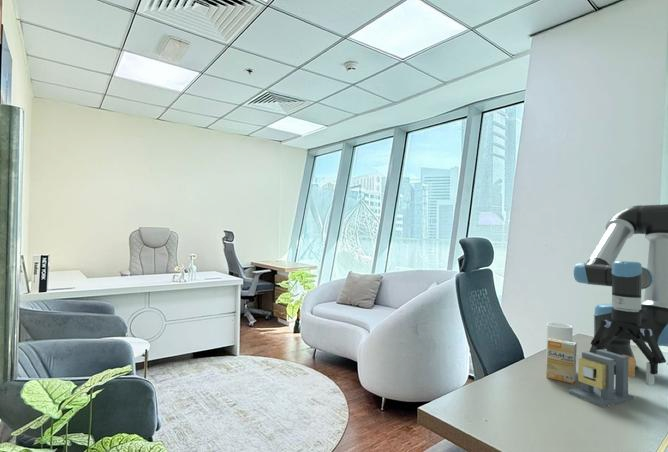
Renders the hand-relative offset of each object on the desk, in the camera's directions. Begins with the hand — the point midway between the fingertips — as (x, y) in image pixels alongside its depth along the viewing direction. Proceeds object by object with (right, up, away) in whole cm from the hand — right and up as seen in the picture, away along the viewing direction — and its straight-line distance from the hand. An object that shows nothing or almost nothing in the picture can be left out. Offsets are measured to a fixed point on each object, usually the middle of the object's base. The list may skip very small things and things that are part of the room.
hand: (625, 376), depth 120 cm
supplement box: (-15, -5, +9) cm, 18 cm away
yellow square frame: (-15, +4, -6) cm, 17 cm away
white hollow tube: (-9, -5, +20) cm, 23 cm away
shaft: (-8, +1, -3) cm, 8 cm away
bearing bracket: (-11, -4, -5) cm, 13 cm away
